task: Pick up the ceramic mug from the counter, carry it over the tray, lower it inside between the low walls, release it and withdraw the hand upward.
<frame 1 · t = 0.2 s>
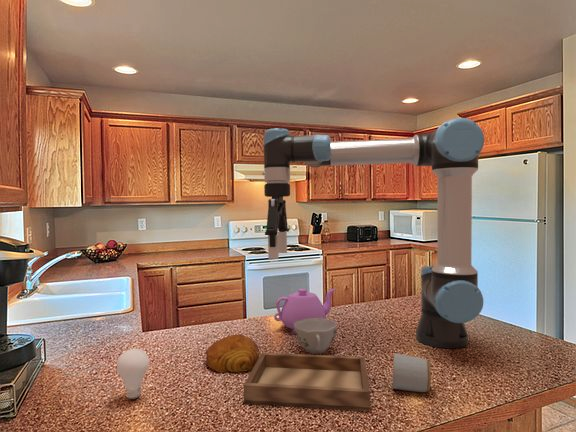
hand: (278, 255, 113), 28 cm above the counter, fingers open, 13 cm apart
ceramic mug: (409, 387, 89), on the counter
teapot: (305, 329, 133), on the counter
teacup: (316, 352, 111), on the counter
light bulb: (133, 399, 85), on the counter
tray: (309, 387, 89), on the counter
croissant: (232, 363, 104), on the counter
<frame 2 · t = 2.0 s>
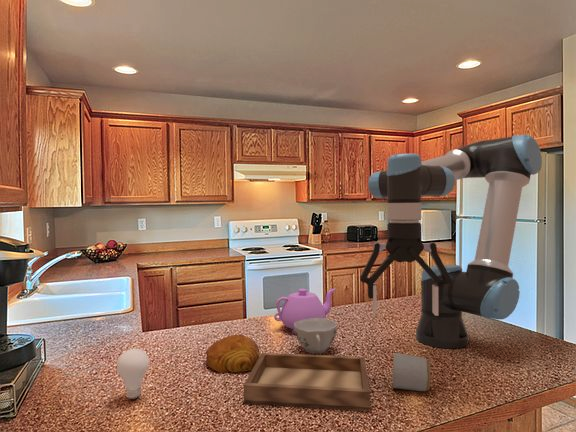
hand: (404, 313, 89), 17 cm above the counter, fingers open, 13 cm apart
nothing on the counter moved.
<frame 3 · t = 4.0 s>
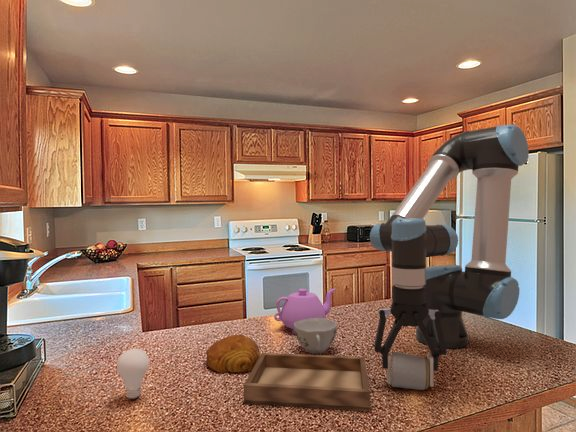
hand: (409, 382, 89), 1 cm above the counter, fingers closed on ceramic mug, 8 cm apart
ceramic mug: (408, 385, 90), on the counter, touching gripper
everything else where it was.
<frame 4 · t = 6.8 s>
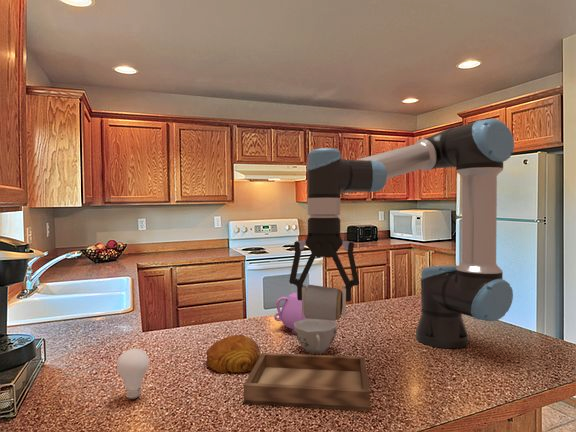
hand: (324, 314, 89), 17 cm above the counter, fingers closed on ceramic mug, 8 cm apart
ceramic mug: (323, 318, 90), point 16 cm above the counter, touching gripper
everything else where it was.
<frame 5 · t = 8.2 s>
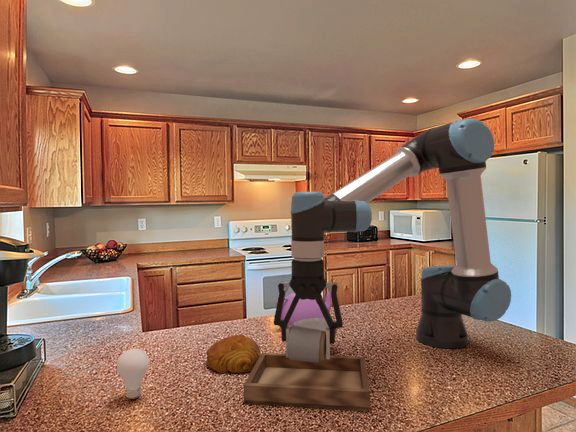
hand: (308, 356, 89), 7 cm above the counter, fingers closed on ceramic mug, 8 cm apart
ceramic mug: (307, 358, 90), point 6 cm above the counter, touching gripper
everything else where it was.
when the fingers open (3 cm above the counter, at t = 9.6 s): ceramic mug stays where it is, resting on tray.
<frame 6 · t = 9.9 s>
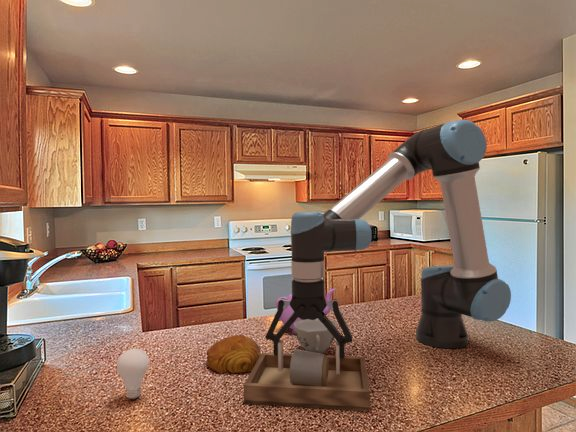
hand: (309, 370, 89), 4 cm above the counter, fingers open, 13 cm apart
ceramic mug: (309, 382, 90), point 1 cm above the counter, touching tray
everything else where it was.
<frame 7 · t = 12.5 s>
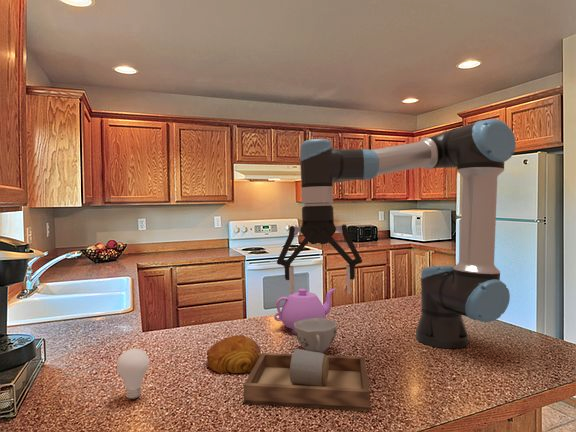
hand: (320, 293, 93), 21 cm above the counter, fingers open, 13 cm apart
nothing on the counter moved.
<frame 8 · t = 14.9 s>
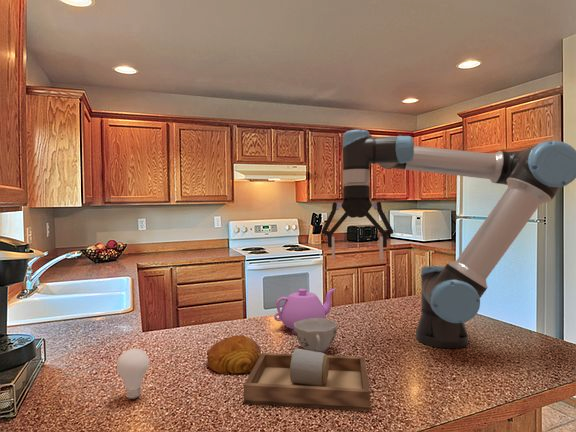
hand: (357, 259, 111), 27 cm above the counter, fingers open, 13 cm apart
nothing on the counter moved.
at the end: ceramic mug inside the target area on the tray (1.5 cm from its centre), point 0.6 cm above the tray's base; ceramic mug tilted 1°; the gripper is holding nothing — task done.
